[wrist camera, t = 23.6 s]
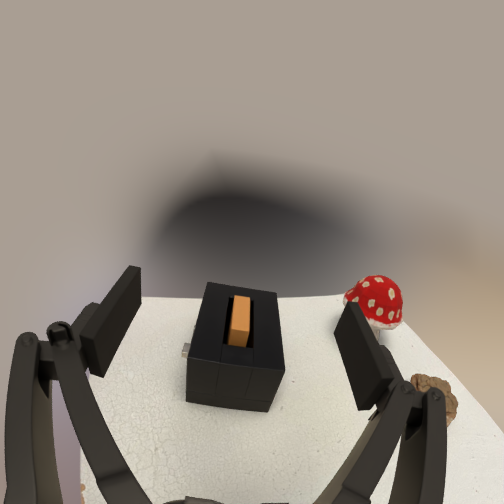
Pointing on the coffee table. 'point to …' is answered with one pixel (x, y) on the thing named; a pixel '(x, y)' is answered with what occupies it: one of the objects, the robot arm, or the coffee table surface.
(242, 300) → the toast
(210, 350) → the toaster
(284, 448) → the coffee table surface
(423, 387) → the rock
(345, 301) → the decorative mushroom
